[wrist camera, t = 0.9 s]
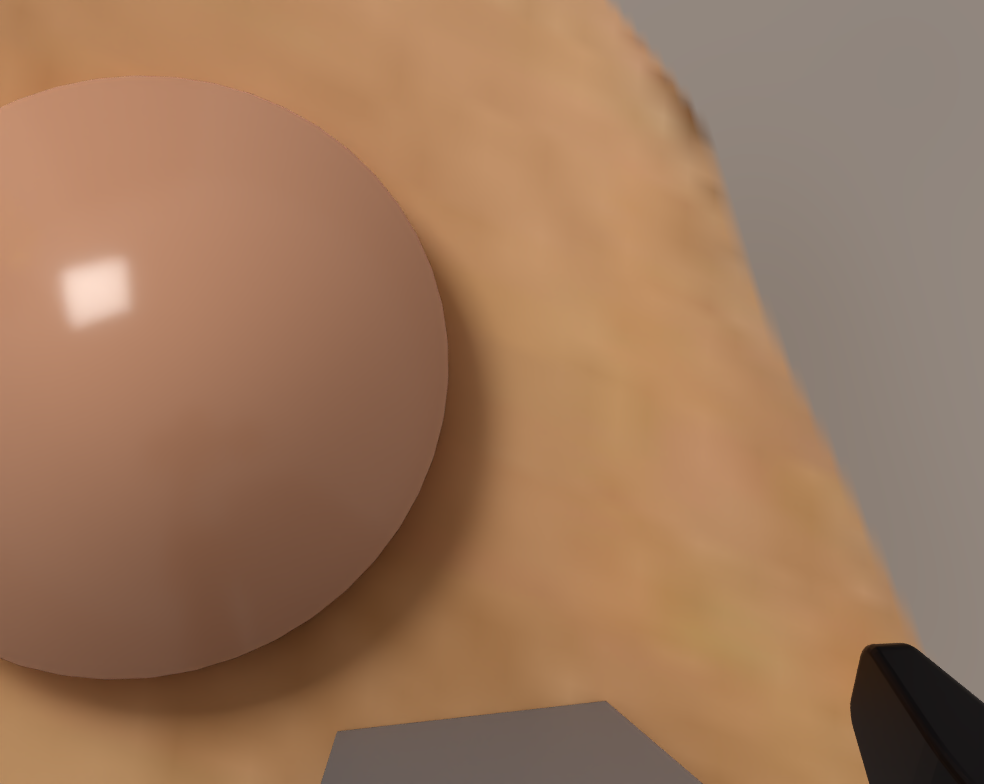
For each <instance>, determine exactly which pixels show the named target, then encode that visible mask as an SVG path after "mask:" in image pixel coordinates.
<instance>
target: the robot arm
mask: <svg viewBox="0 0 984 784" xmlns="http://www.w3.org/2000/svg"><path fill="white" fill-rule="evenodd" d="M850 711H851V720H852V725H853V729H854V732H855V736H856V739H857V743H858V746H859V750H860V753H861V757H862V760H863V763H864V767H865V770H866V774H867V777H868V781H869V784H984V703H983V702H982V701H981V700H979V699H978V698H977V697H976V696H974V695H973V694H972V693H971V692H970V691H968V690H967V689H966V688H965V687H963V686H962V685H961V684H960V683H958V682H957V681H956V680H955V679H953V678H952V677H951V676H950V675H949V674H947V673H946V672H945V671H943V670H942V669H941V668H940V667H939V666H937V665H936V664H935V663H934V662H932V661H931V660H930V659H929V658H927V657H926V656H925V655H924V654H923V653H921V652H920V651H919V650H917V649H916V648H915V647H913V646H911V645H909V644H905V643H889V644H871V645H868V646H866V647H865V648H864V649H863V651H862V653H861V656H860V660H859V665H858V669H857V674H856V679H855V683H854V688H853V692H852V697H851V703H850Z"/></svg>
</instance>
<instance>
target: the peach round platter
mask: <svg viewBox="0 0 984 784" xmlns="http://www.w3.org/2000/svg"><path fill="white" fill-rule="evenodd" d="M447 387H448V340H447V333H446V326H445V319H444V312H443V305H442V302H441V298H440V295H439V291H438V288H437V284H436V281H435V277H434V274H433V270H432V268H431V265H430V263H429V261H428V259H427V256H426V254H425V252H424V249H423V247H422V245H421V243H420V240H419V238H418V236H417V234H416V232H415V231H414V229H413V227H412V226H411V224H410V222H409V221H408V219H407V217H406V216H405V214H404V212H403V211H402V209H401V207H400V206H399V204H398V203H397V202H396V200H395V199H394V198H393V197H392V195H391V194H390V193H389V192H388V190H387V189H386V188H385V187H384V185H383V184H382V183H381V182H380V180H379V179H378V178H377V177H376V175H375V174H374V173H373V172H372V171H371V170H370V169H369V168H368V167H367V166H366V165H364V164H363V163H362V162H361V161H360V160H359V159H358V158H357V157H356V156H355V155H354V154H353V153H352V152H351V151H350V150H349V149H348V148H346V147H345V146H344V145H342V144H341V143H340V142H338V141H337V140H336V139H334V138H333V137H332V136H330V135H329V134H328V133H326V132H325V131H324V130H322V129H321V128H320V127H318V126H316V125H315V124H313V123H311V122H309V121H308V120H306V119H304V118H302V117H301V116H299V115H297V114H295V113H294V112H292V111H290V110H288V109H286V108H284V107H282V106H280V105H277V104H275V103H272V102H270V101H268V100H265V99H263V98H260V97H258V96H255V95H253V94H251V93H247V92H244V91H240V90H237V89H233V88H229V87H226V86H222V85H219V84H215V83H210V82H204V81H197V80H191V79H184V78H177V77H158V76H126V77H114V78H102V79H93V80H88V81H83V82H78V83H73V84H68V85H64V86H59V87H55V88H52V89H49V90H46V91H42V92H39V93H36V94H33V95H30V96H27V97H24V98H21V99H18V100H16V101H14V102H12V103H9V104H7V105H5V106H3V107H1V108H0V658H2V659H4V660H7V661H9V662H12V663H15V664H17V665H20V666H24V667H29V668H33V669H37V670H41V671H46V672H50V673H54V674H59V675H64V676H74V677H85V678H95V679H106V680H108V679H134V678H153V677H159V676H165V675H171V674H177V673H182V672H188V671H194V670H197V669H201V668H204V667H207V666H211V665H214V664H217V663H220V662H224V661H227V660H230V659H234V658H237V657H239V656H241V655H243V654H246V653H248V652H250V651H252V650H254V649H257V648H259V647H261V646H263V645H266V644H268V643H270V642H272V641H274V640H276V639H278V638H280V637H281V636H283V635H285V634H286V633H288V632H290V631H291V630H293V629H294V628H296V627H298V626H299V625H301V624H303V623H304V622H306V621H307V620H309V619H311V618H312V617H314V616H315V615H316V614H317V613H319V612H320V611H321V610H322V609H324V608H325V607H326V606H327V605H329V604H330V603H331V602H332V601H334V600H335V599H336V598H337V597H339V596H340V595H341V594H342V593H344V592H345V591H346V590H347V589H348V588H349V587H350V586H351V585H352V584H353V583H354V582H355V581H356V580H357V579H358V578H359V577H360V576H361V575H362V573H363V572H364V571H365V570H366V569H367V568H368V567H369V566H370V565H371V564H372V563H373V562H374V561H375V560H376V559H377V557H378V556H379V555H380V553H381V552H382V551H383V549H384V548H385V547H386V545H387V544H388V543H389V541H390V540H391V538H392V537H393V536H394V534H395V533H396V532H397V530H398V529H399V528H400V526H401V524H402V522H403V521H404V519H405V517H406V515H407V514H408V512H409V510H410V508H411V506H412V505H413V503H414V501H415V499H416V498H417V496H418V494H419V492H420V489H421V487H422V484H423V482H424V479H425V477H426V474H427V472H428V470H429V467H430V465H431V462H432V460H433V457H434V454H435V450H436V446H437V442H438V438H439V435H440V431H441V427H442V423H443V419H444V412H445V404H446V395H447Z"/></svg>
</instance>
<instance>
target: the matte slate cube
mask: <svg viewBox="0 0 984 784" xmlns="http://www.w3.org/2000/svg"><path fill="white" fill-rule="evenodd" d="M321 784H702V783H701V782H700V781H699V780H698V779H697V778H695V777H694V776H693V775H692V774H691V773H690V772H688V771H687V770H686V769H685V768H684V767H683V766H681V765H680V764H679V763H678V762H677V761H675V760H674V759H673V758H672V757H671V756H670V755H668V754H667V753H666V752H665V751H664V750H663V749H661V748H660V747H659V746H658V745H657V744H656V743H654V742H653V741H652V740H651V739H650V738H649V737H647V736H646V735H645V734H644V733H643V732H641V731H640V730H639V729H638V728H637V727H636V726H634V725H633V724H632V723H631V722H630V721H629V720H627V719H626V718H625V717H624V716H623V715H622V714H620V713H619V712H618V711H617V710H616V709H615V708H613V707H612V706H611V705H610V704H609V703H608V702H606V701H602V702H593V703H584V704H575V705H567V706H558V707H549V708H540V709H531V710H522V711H514V712H505V713H496V714H487V715H478V716H469V717H461V718H452V719H443V720H434V721H425V722H416V723H408V724H399V725H390V726H381V727H372V728H363V729H354V730H346V731H337V734H336V737H335V740H334V743H333V747H332V750H331V753H330V756H329V759H328V762H327V766H326V769H325V772H324V775H323V778H322V782H321Z"/></svg>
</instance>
